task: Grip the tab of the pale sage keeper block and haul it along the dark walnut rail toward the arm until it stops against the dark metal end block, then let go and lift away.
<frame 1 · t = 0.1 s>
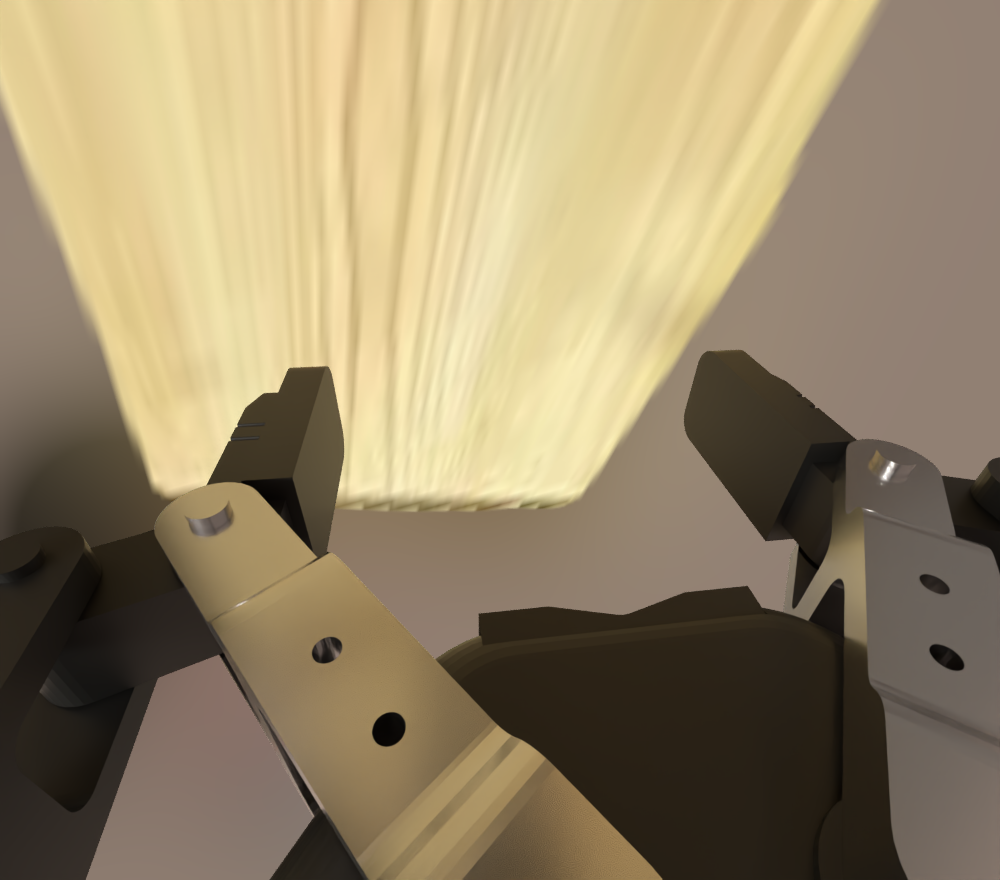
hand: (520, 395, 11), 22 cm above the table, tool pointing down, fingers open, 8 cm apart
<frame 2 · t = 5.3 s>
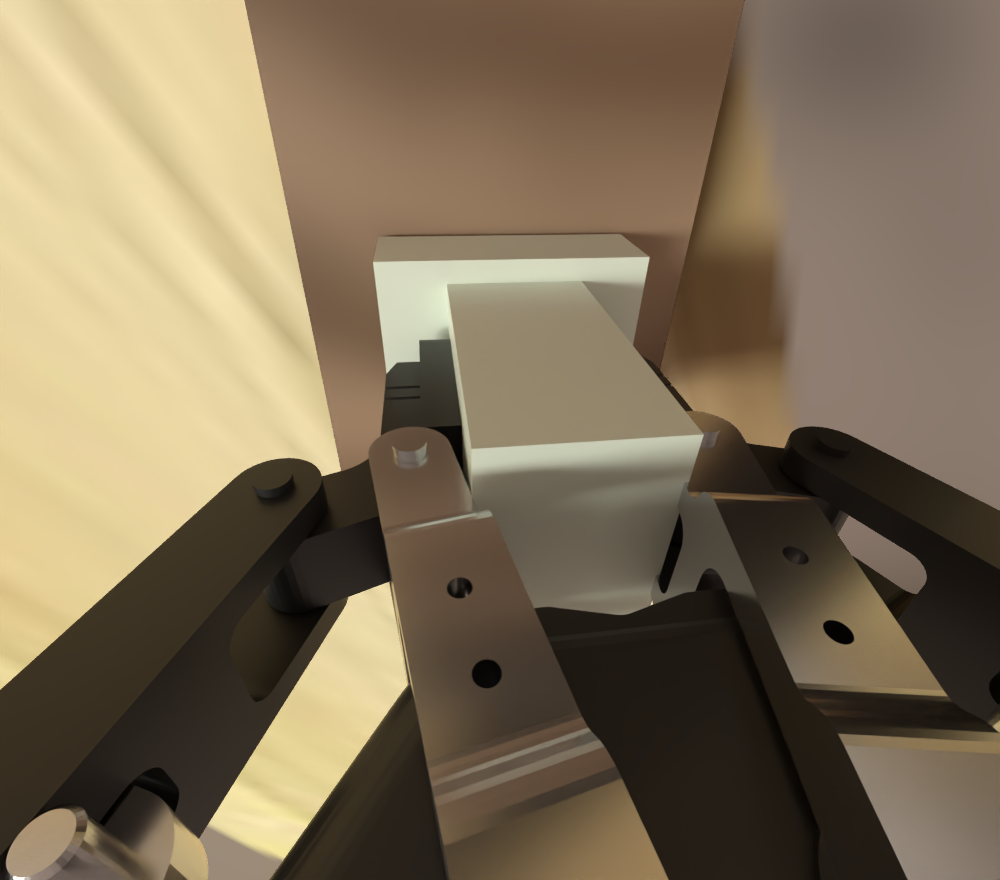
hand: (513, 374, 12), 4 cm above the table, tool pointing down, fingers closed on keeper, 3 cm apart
keeper: (526, 407, 11), point 6 cm above the table, slide at 0.0 cm, touching gripper
rail: (498, 2, 11), on the table
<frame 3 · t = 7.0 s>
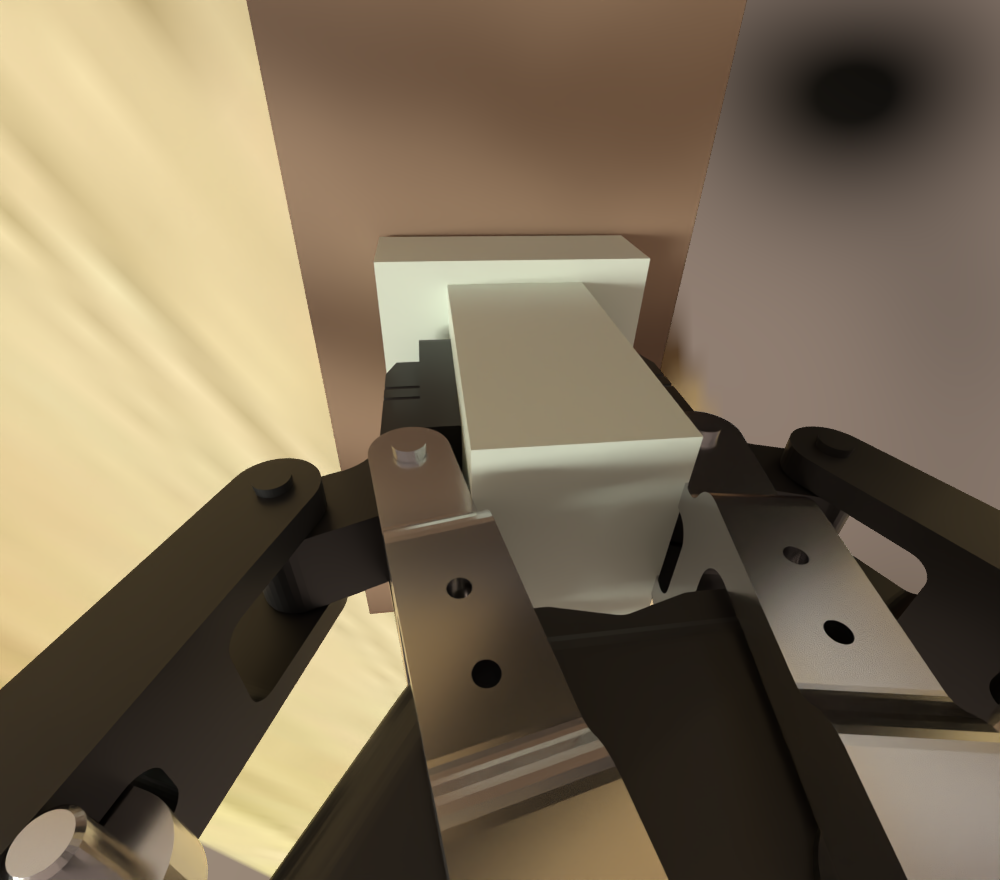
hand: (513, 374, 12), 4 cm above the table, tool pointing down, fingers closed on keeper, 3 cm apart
keeper: (526, 408, 11), point 6 cm above the table, slide at 7.2 cm, touching gripper
rail: (493, 314, 15), on the table
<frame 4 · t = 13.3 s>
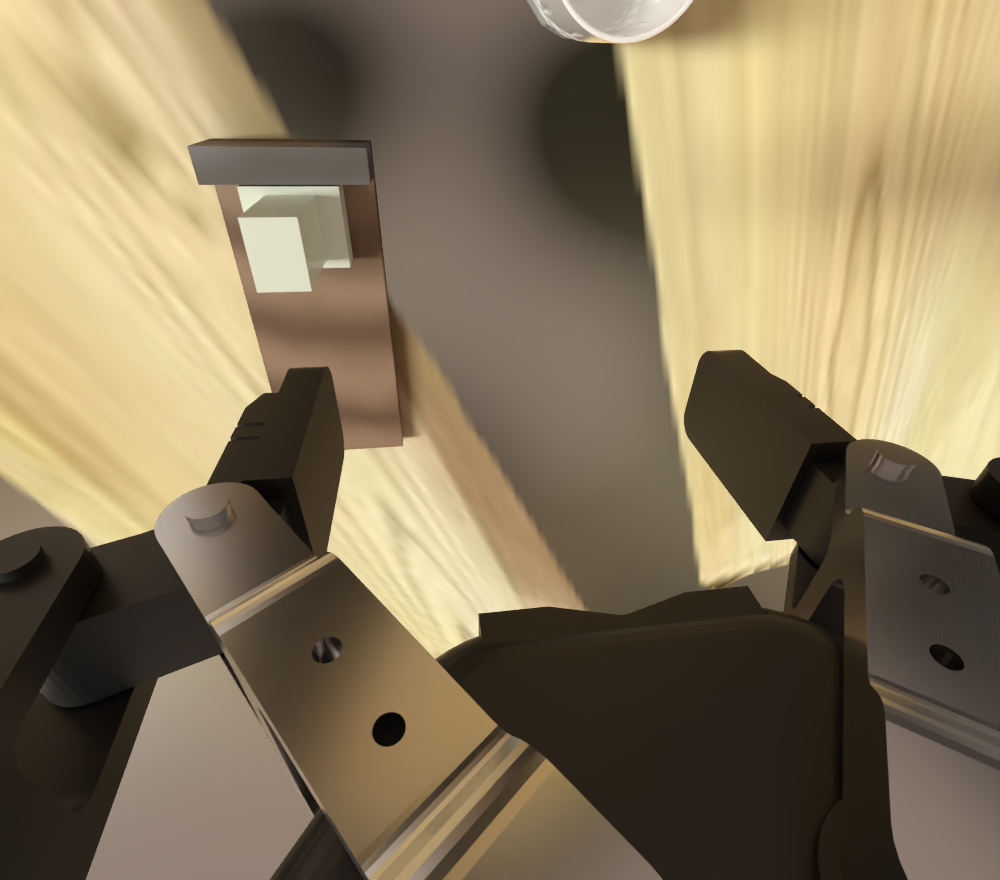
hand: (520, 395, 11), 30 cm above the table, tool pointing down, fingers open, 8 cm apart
keeper: (290, 237, 31), point 6 cm above the table, slide at 14.3 cm
rail: (325, 316, 40), on the table
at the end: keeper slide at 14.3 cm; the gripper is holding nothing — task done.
